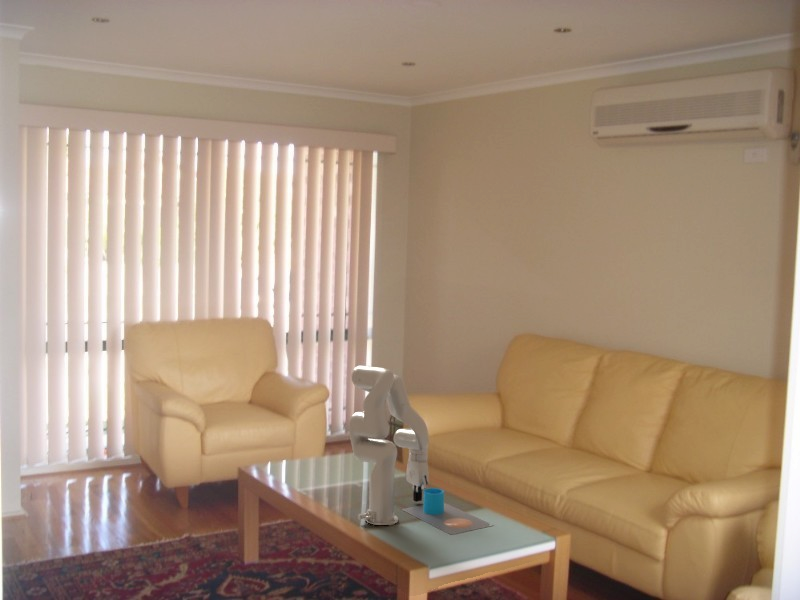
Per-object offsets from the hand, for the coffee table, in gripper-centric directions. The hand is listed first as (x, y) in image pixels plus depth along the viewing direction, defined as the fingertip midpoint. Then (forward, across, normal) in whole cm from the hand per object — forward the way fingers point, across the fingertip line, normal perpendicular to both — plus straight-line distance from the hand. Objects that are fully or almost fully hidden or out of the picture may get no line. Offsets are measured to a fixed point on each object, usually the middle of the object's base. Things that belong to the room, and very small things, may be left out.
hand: (417, 500), depth 350 cm
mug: (+1, +10, 0) cm, 10 cm away
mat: (+1, +20, 0) cm, 20 cm away
